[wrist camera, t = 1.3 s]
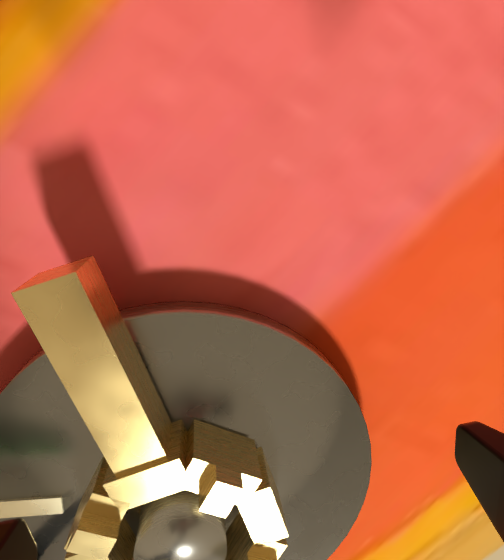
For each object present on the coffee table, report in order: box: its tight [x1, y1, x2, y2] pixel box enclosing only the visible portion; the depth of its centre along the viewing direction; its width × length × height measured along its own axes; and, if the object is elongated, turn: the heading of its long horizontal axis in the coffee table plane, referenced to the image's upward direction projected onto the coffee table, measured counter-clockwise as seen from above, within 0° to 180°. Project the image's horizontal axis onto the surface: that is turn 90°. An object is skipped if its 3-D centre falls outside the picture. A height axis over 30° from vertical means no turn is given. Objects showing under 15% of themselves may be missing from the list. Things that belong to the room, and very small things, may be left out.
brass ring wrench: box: [11, 256, 289, 560], centre depth 16 cm, size 18×9×3 cm, turn 17°
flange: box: [0, 301, 371, 560], centre depth 18 cm, size 20×20×4 cm
